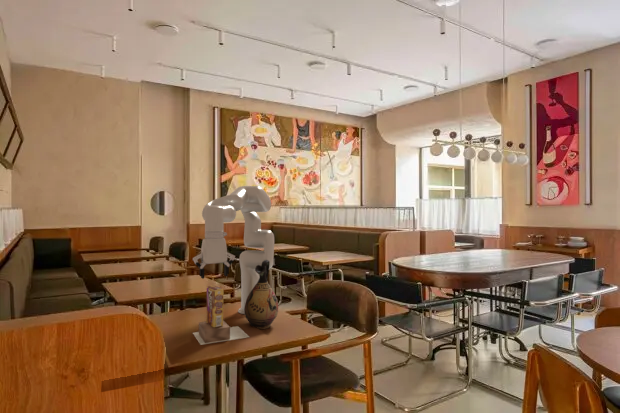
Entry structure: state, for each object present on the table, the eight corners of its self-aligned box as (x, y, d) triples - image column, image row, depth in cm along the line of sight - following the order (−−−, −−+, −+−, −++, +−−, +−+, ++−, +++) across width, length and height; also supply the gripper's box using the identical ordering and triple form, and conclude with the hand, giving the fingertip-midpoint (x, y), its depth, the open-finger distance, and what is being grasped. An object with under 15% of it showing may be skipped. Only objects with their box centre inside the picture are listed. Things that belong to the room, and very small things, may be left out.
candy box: (224, 326, 162) (224, 288, 162) (213, 328, 160) (213, 290, 160) (215, 320, 170) (215, 285, 169) (205, 322, 167) (206, 286, 167)
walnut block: (222, 330, 172) (222, 319, 172) (230, 339, 161) (230, 326, 161) (198, 334, 167) (198, 322, 167) (205, 343, 157) (205, 330, 157)
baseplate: (238, 328, 178) (238, 326, 178) (249, 339, 164) (249, 336, 164) (192, 335, 169) (192, 332, 169) (200, 347, 155) (200, 344, 155)
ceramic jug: (272, 332, 173) (272, 263, 172) (239, 330, 176) (239, 262, 175) (283, 321, 189) (283, 258, 189) (252, 319, 192) (252, 257, 192)
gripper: (232, 234, 171) (232, 273, 172) (191, 235, 163) (191, 277, 164) (237, 235, 165) (237, 276, 165) (194, 237, 157) (194, 280, 157)
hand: (214, 276), depth 164 cm, fingers open, 9 cm apart
